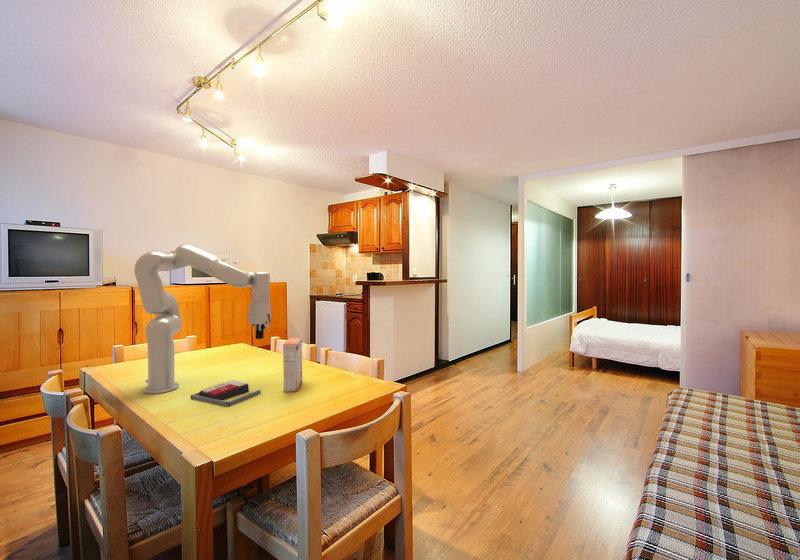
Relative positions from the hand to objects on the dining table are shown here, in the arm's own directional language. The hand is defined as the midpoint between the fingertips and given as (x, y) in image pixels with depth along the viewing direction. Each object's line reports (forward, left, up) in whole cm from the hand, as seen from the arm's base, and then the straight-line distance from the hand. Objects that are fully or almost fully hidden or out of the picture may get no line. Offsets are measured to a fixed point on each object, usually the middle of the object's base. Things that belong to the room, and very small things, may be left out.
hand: (259, 338), depth 159 cm
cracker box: (+17, +2, -21) cm, 27 cm away
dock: (0, -18, -21) cm, 27 cm away
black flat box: (-2, -17, -21) cm, 27 cm away
